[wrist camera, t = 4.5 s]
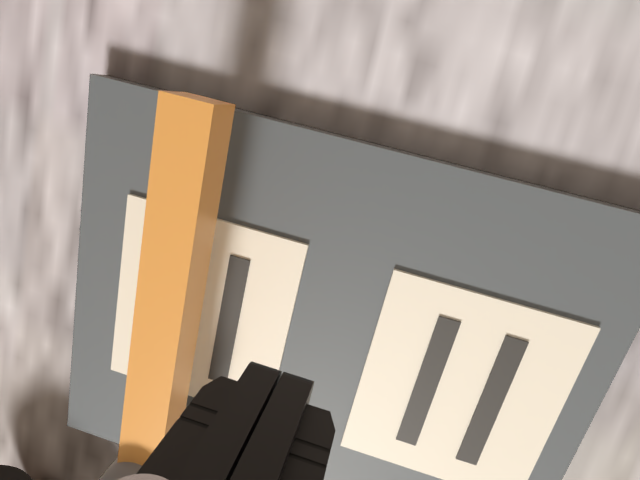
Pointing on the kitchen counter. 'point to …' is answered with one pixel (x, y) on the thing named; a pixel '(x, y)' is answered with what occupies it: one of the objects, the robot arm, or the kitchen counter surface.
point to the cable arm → (172, 268)
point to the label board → (370, 294)
